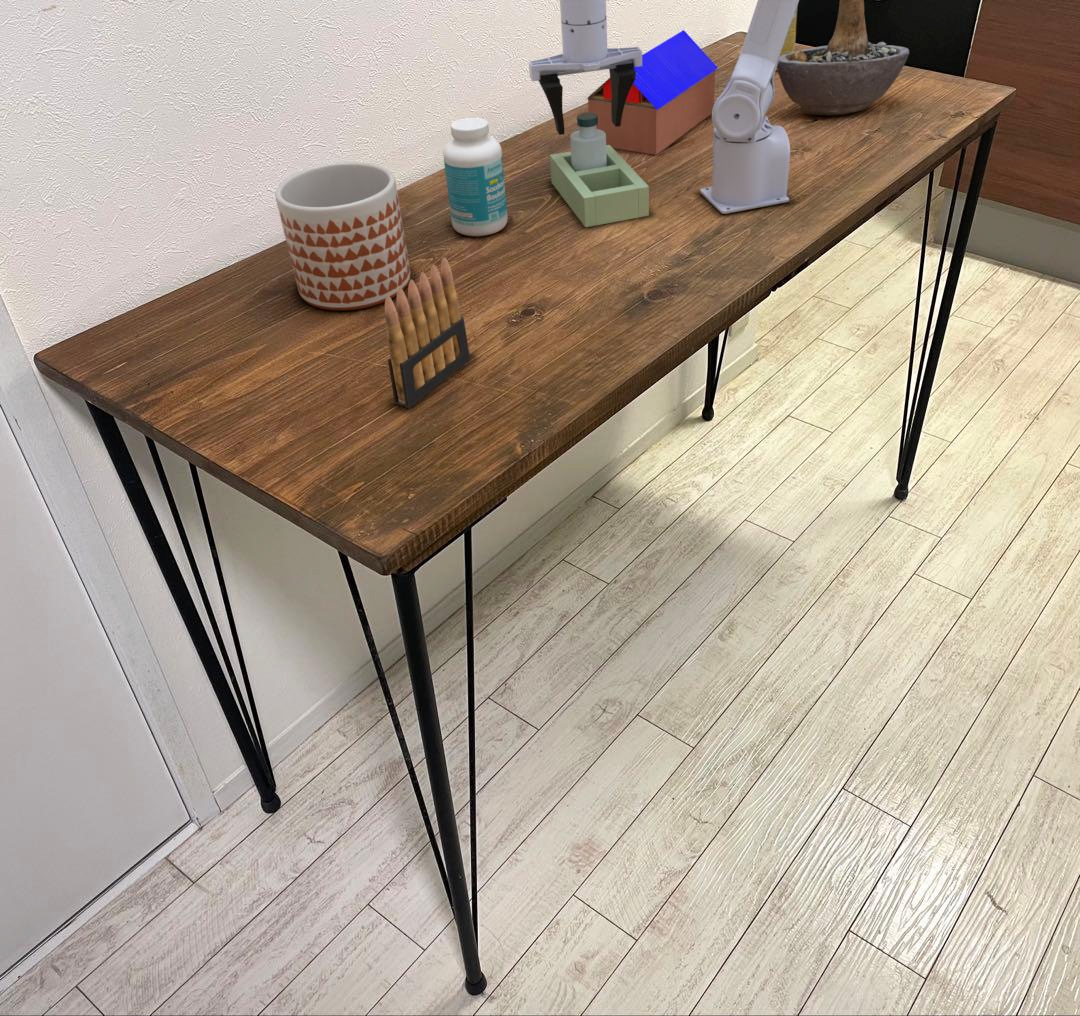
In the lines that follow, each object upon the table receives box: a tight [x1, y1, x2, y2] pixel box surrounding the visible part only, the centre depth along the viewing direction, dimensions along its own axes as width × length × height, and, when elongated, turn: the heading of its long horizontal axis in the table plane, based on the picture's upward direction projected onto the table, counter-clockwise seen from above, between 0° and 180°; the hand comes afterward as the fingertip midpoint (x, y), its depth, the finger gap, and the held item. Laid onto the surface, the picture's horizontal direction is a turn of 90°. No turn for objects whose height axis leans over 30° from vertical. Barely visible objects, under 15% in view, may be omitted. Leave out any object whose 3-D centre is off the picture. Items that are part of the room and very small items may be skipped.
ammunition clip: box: [384, 256, 471, 409], centre depth 102 cm, size 11×2×12 cm, turn 147°
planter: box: [777, 0, 910, 116], centre depth 152 cm, size 15×17×20 cm
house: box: [585, 29, 719, 156], centre depth 154 cm, size 12×20×12 cm, turn 147°
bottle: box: [569, 112, 607, 172], centre depth 139 cm, size 5×5×10 cm
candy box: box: [775, 4, 799, 72], centre depth 173 cm, size 9×4×15 cm, turn 5°
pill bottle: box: [442, 117, 509, 237], centre depth 130 cm, size 8×7×14 cm
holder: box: [549, 145, 650, 228], centre depth 138 cm, size 9×16×4 cm, turn 15°
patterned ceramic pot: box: [274, 161, 412, 312], centre depth 120 cm, size 14×14×13 cm
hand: (588, 128), depth 136 cm, fingers open, 7 cm apart
